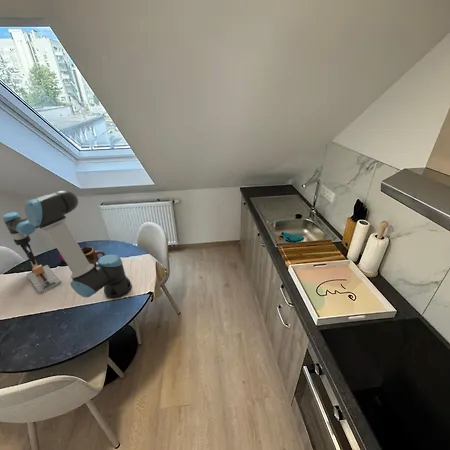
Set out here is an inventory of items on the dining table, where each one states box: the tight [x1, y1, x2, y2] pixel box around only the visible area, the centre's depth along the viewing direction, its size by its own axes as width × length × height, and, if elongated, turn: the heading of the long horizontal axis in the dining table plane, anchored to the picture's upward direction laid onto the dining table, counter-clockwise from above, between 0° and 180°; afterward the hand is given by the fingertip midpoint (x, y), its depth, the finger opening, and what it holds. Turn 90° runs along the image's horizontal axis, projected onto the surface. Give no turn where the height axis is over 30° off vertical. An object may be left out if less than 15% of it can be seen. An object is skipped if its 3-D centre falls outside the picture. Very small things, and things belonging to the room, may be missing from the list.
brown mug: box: [80, 246, 106, 266], centre depth 164 cm, size 20×12×14 cm, turn 113°
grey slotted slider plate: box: [25, 264, 62, 295], centre depth 157 cm, size 24×12×3 cm, turn 49°
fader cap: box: [31, 264, 45, 276], centre depth 159 cm, size 2×5×5 cm, turn 139°
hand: (36, 267), depth 162 cm, fingers closed
